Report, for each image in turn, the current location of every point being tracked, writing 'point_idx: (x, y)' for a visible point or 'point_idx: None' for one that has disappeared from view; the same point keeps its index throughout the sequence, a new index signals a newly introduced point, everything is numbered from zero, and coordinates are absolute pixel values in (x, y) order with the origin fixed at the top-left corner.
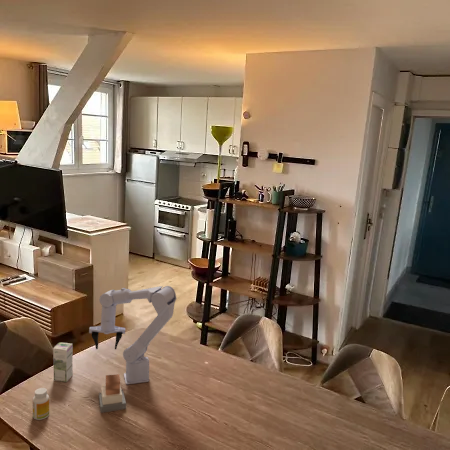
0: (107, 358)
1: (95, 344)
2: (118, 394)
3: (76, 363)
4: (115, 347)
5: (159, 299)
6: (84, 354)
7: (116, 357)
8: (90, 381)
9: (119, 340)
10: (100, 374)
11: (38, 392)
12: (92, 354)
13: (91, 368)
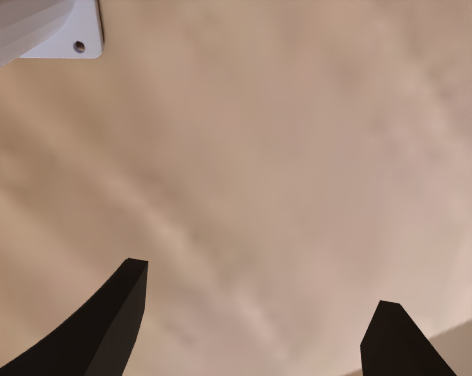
0: (228, 295)
1: (443, 362)
2: None
3: (446, 282)
4: (129, 276)
5: None
6: None
7: (165, 294)
8: (414, 8)
9: (6, 364)
10: (306, 105)
11: None
12: (319, 350)
13: (360, 203)
